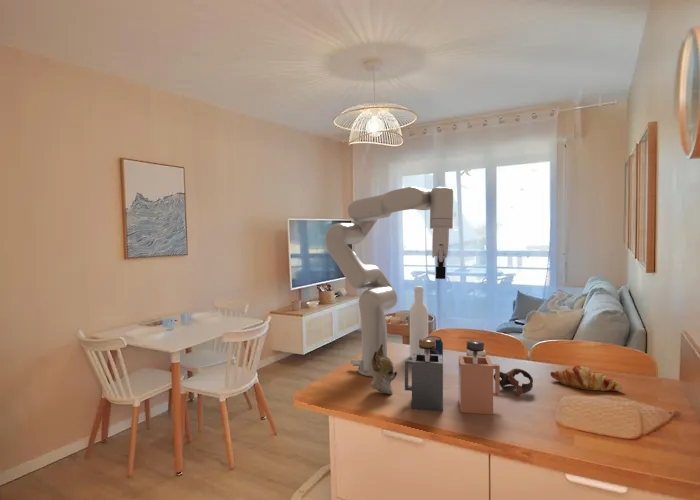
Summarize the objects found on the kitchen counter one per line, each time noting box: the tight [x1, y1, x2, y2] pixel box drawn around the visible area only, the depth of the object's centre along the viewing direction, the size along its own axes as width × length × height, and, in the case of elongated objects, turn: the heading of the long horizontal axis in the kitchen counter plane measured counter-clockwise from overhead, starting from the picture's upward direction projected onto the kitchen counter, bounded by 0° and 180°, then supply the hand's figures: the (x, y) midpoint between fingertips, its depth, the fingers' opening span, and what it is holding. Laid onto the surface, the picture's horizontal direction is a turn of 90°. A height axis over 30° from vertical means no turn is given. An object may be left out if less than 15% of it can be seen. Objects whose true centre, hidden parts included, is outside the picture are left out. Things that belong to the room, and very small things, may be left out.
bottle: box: [409, 285, 429, 359], centre depth 174 cm, size 8×8×30 cm
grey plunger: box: [465, 339, 485, 364], centre depth 123 cm, size 6×6×18 cm
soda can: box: [426, 335, 444, 360], centre depth 159 cm, size 7×7×12 cm
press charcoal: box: [404, 354, 444, 412], centre depth 126 cm, size 11×9×14 cm
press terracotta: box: [458, 355, 501, 415], centre depth 123 cm, size 11×9×14 cm
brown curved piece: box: [493, 368, 534, 397], centre depth 136 cm, size 12×10×8 cm
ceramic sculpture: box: [370, 344, 398, 395], centre depth 134 cm, size 11×9×15 cm
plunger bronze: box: [419, 339, 436, 362], centre depth 126 cm, size 6×6×18 cm
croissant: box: [550, 365, 623, 392], centre depth 140 cm, size 21×10×8 cm, turn 58°
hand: (440, 278), depth 140 cm, fingers closed
